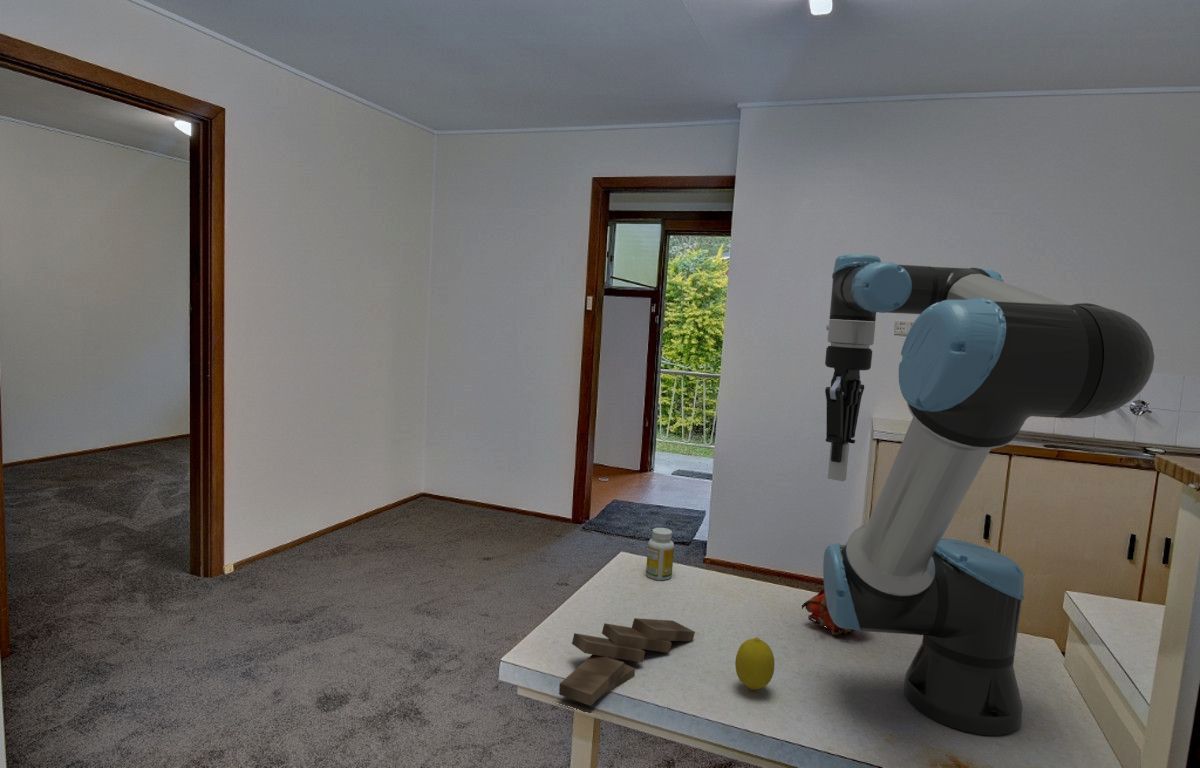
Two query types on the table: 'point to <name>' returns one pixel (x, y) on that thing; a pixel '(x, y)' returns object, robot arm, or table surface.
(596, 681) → the domino
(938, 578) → the robot arm
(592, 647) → the domino
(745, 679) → the lemon
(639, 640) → the domino
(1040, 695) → the table surface
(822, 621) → the dragon fruit
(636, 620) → the domino
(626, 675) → the domino
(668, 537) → the supplement bottle
